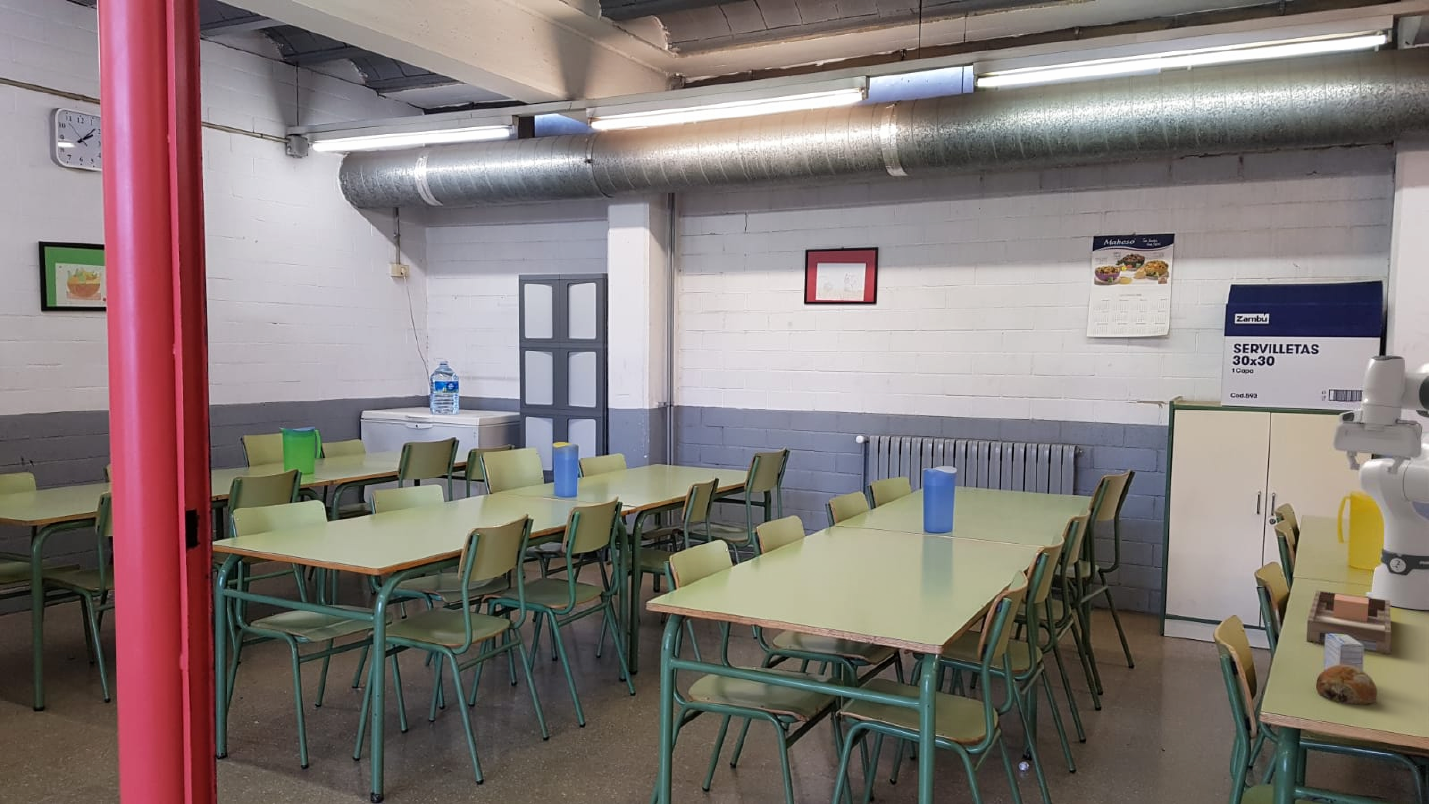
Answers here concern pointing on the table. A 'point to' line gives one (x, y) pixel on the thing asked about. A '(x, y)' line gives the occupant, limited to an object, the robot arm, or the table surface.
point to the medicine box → (1342, 651)
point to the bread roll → (1346, 685)
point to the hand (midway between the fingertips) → (1372, 472)
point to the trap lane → (1351, 623)
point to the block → (1350, 608)
